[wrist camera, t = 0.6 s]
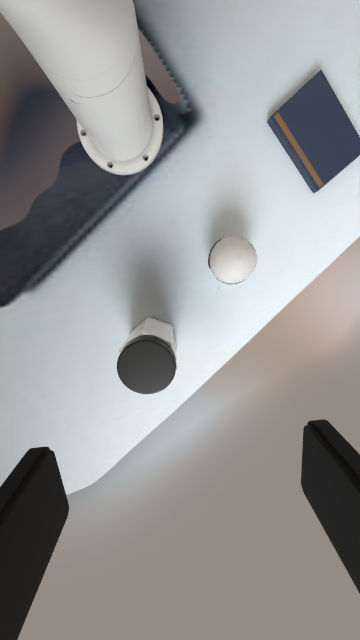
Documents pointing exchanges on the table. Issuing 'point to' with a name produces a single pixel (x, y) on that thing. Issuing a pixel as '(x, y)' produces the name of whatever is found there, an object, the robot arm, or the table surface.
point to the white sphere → (232, 259)
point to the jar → (148, 357)
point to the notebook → (316, 132)
